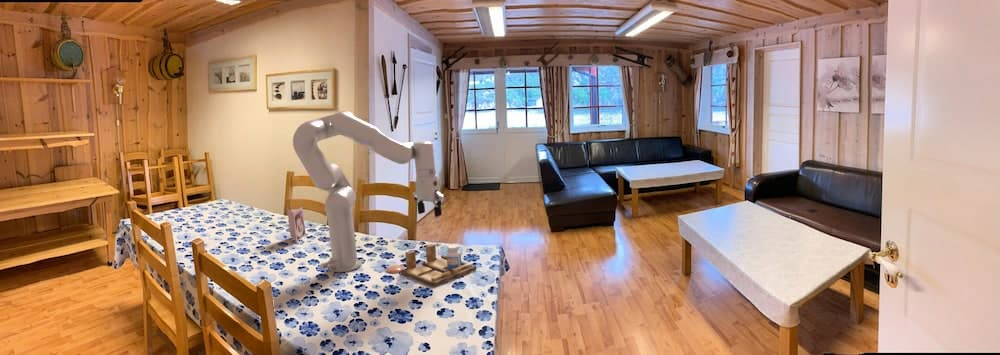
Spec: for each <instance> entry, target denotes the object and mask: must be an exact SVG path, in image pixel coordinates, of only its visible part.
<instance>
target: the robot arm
mask: <svg viewBox="0 0 1000 355" xmlns="http://www.w3.org/2000/svg"><path fill="white" fill-rule="evenodd" d="M336 136H342V137H344V138H347V139H349V140H351V141H353V142H355V143H357V144H360V145H362V146H363V147H365V148H367V149H369V150H370V151H372V152H374V153H375V154H377V155H379V156H381V157H383V158H385V159H386V160H387V159H388V160H390V161H391V162H394V163H396V164H399V165H406V164H408V163H409V162H410V161H412V160H414V166H415V167H414V168H415V176H416V177H415V190H414V191H413V192H412V196H413V198H414V201H415V203H416V205H417V214H418V215H422V214H425V213H426V208H425V202H427V203H428V202H429V203H432V204H433V206H434V207H433V211H434V217H436V218H437V217H441V216H442V205H443V204H444V199H445V196H444V194H442V192H441V188H440V182H439V178H438V175H436V173H437V171H436V168H435V167H436V166H435V156H434V144H433V143H432V141H428V140H425V141H424V140H423V141H421V140H420V141H417V142H414V141H413V142H411V141H409V142H408V141H402V142H398V141H396V140H394V139H392V138H390V137H388V136H386V135H385V134H384V133H382V132H381V131H380V129H379V128H378V127H376V126H374V125H373V124H370V123H368V122H367V121H364V120H362V119H360V118H358V117H356V116H355V114H354V113H352V112H351V111H349V110H340V111H337V112H335V113H333V114H330V115H326V116H323V117H319V118H315V119H310V120H307V121H305V122H303V123H301V124H299V126H298V127H297V128H296V130H295V132H294V134H293V137H292V145H293V150H294V151H295V152H294V153H295V154H296V156H297V157H298V159H299V160H300V162H301V164H302V166H303V167H304V169H305V171H306V172H307V174H308V176H309V177H310V179H311V181H312V183H313V184H314V186H315V187H316V188H317V189H319V190H321V191H327V192H328V195H327V197H326V199H325V202H324V209H325V213H326V218H327V224H328V233H329V242H330V251H331V257H329V260H327V261H325V262H321V263H320V268H321V269H324V268H327V269H328V270H329V271H331V272H334V273H346V272H352V271H355V270H357V269H359V268H360V267H361V266H362V261H361V260H360V259H358V254H357V245H356V244H357V243H356V234H355V233H356V232H355V224H354V223H355V222H354V218H353V213H352V212H353V211H352V207H353V206H354V204H355V202H356V198H357V194H356V192H355V190H354V187H353V186H352V184H351V183H350V181H349V179H348V178H347V176H346V174H345V173H344V171H343V170H342V169H341V167H340V166H339V165H337V164H336V163H333V162H329V161H328V160H327V158H326V156H325V154H324V153H323V151H322V150H321V149H320V148H319V146H318V142H321V141H323V140H326V139H330V138H332V137H336Z"/></svg>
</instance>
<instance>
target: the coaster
mask: <svg viewBox="0 0 1000 355" xmlns="http://www.w3.org/2000/svg"><path fill="white" fill-rule="evenodd" d="M402 269H403V270H405V269H406V268H405V266H404V265H403V266H402V265H392V266H389V267H387V268H386V272H387V273H388V274H399V273H400V274H401V270H402Z"/></svg>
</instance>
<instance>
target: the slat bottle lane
mask: <svg viewBox="0 0 1000 355" xmlns="http://www.w3.org/2000/svg"><path fill="white" fill-rule="evenodd" d="M436 250H437V249H436V245H435V244H433V243H430V244H427V245H425V251H426V252H425V253H426V254H425V255H426V263H428V264H430V265H433V266H436V267H439V268H441V269H444V270H447V271H448V267H447V260H446V259H443V258H441V257H440V258H437V251H436ZM466 263H467V264H465V265H461V266H459V267H457V268H454V269H452V273H457V272H460V271H462V270H465V269H467V268H470V267H471V265H472V264H471V263H469V262H466ZM450 272H451V271H450Z"/></svg>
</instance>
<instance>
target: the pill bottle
mask: <svg viewBox="0 0 1000 355" xmlns="http://www.w3.org/2000/svg"><path fill="white" fill-rule="evenodd" d="M446 256H447V267H448V268H447V270H448V271H451V272H452V269H454V268H457V267H459V266H461V261H462V257H461V256H462V255H461V251H460V250H459V245H458V244H449V245H448V246H447V252H446Z"/></svg>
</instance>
